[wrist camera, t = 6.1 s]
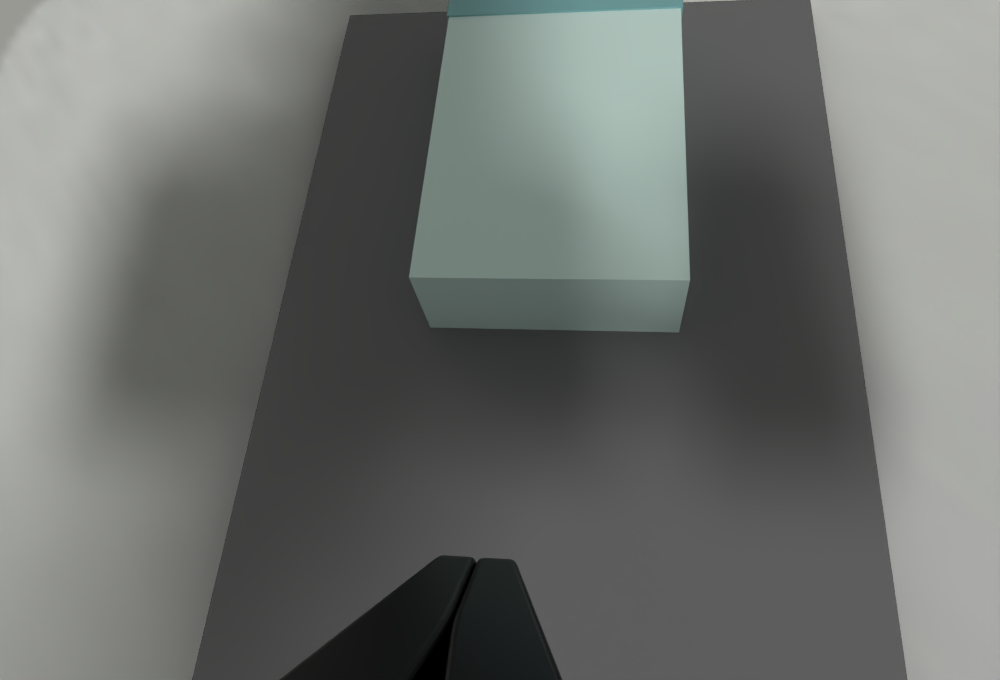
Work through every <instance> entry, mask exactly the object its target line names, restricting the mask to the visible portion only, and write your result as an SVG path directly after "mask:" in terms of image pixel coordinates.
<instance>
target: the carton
mask: <svg viewBox="0 0 1000 680" xmlns="http://www.w3.org/2000/svg"><path fill="white" fill-rule="evenodd" d="M682 12H683V0H449V4H448V11H447V19H448V26H447V33H446V39H445V46H444V52H443V59H442V65H441V72H440V78H439V85H438V91H437V98H436V104H435V111H434V117H433V124H432V130H431V137H430V143H429V150H428V156H427V163H426V169H425V176H424V182H423V189H422V195H421V202H420V208H419V215H418V221H417V228H416V234H415V241H414V247H413V254H412V260H411V267H410V273H409V279H410V281H411V284H412V286H413V288H414V291H415V293H416V295H417V298H418V300H419V302H420V305H421V307H422V309H423V312H424V314H425V316H426V319H427V321H428V323H429V326H430V328H479V329H529V330H580V331H630V332H679V330H680V325H681V321H682V316H683V311H684V307H685V302H686V297H687V293H688V288H689V283H690V263H689V233H688V203H687V174H686V144H685V114H684V84H683V55H682V25H681V20H682Z"/></svg>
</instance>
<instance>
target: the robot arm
mask: <svg viewBox="0 0 1000 680" xmlns="http://www.w3.org/2000/svg"><path fill="white" fill-rule="evenodd" d="M279 680H562V677H561V675H560V672H559V669H558V667H557V664H556V662H555V659H554V657H553V654H552V652H551V649H550V647H549V644H548V642H547V639H546V636H545V634H544V631H543V629H542V626H541V624H540V621H539V619H538V616H537V614H536V611H535V609H534V606H533V603H532V601H531V598H530V596H529V593H528V591H527V588H526V586H525V583H524V581H523V578H522V576H521V573H520V570H519V568H518V565H517V564H516V562H515V561H514V560H511V559H498V558H481V559H479V560H478V561H477V562H476V560H475V559H474V558H473V557H465V556H449V555H441V556H439V557H437V558H435V559H434V560H433V561H431V562H430V563H429V564H427V565H426V566H425V567H424V568H422V569H421V570H420V571H418V572H417V573H416V574H414V575H413V576H412V577H411V578H409V579H408V580H407V581H405V582H404V583H403V584H402V585H400V586H399V587H398V588H396V589H395V590H394V591H393V592H391V593H390V594H389V595H387V596H386V597H385V598H384V599H382V600H381V601H380V602H378V603H377V604H376V605H374V606H373V607H372V608H371V609H369V610H368V611H367V612H365V613H364V614H363V615H362V616H360V617H359V618H358V619H356V620H355V621H354V622H353V623H351V624H350V625H349V626H347V627H346V628H345V629H344V630H342V631H341V632H340V633H338V634H337V635H336V636H334V637H333V638H332V639H331V640H329V641H328V642H327V643H325V644H324V645H323V646H322V647H320V648H319V649H318V650H316V651H315V652H314V653H313V654H311V655H310V656H309V657H307V658H306V659H305V660H304V661H302V662H301V663H300V664H298V665H297V666H296V667H294V668H293V669H292V670H291V671H289V672H288V673H287V674H285V675H284V676H283V677H282V678H280V679H279Z"/></svg>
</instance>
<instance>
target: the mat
mask: <svg viewBox="0 0 1000 680" xmlns="http://www.w3.org/2000/svg"><path fill="white" fill-rule="evenodd" d="M681 25H682V55H683V84H684V114H685V144H686V174H687V203H688V233H689V263H690V283H689V288H688V293H687V297H686V302H685V307H684V311H683V316H682V321H681V325H680V330H679V332H630V331H580V330H529V329H479V328H430V326H429V323H428V321H427V319H426V316H425V314H424V312H423V309H422V307H421V305H420V302H419V300H418V298H417V295H416V293H415V291H414V288H413V286H412V284H411V281H410V279H409V273H410V267H411V260H412V254H413V247H414V241H415V234H416V228H417V221H418V215H419V208H420V202H421V195H422V189H423V182H424V176H425V169H426V163H427V156H428V150H429V143H430V137H431V130H432V124H433V117H434V111H435V104H436V98H437V91H438V85H439V78H440V72H441V65H442V59H443V52H444V46H445V39H446V33H447V26H448V19H447V12H428V13H403V14H377V15H351V16H350V19H349V23H348V27H347V31H346V35H345V40H344V44H343V48H342V52H341V56H340V61H339V65H338V69H337V73H336V77H335V82H334V86H333V90H332V94H331V98H330V103H329V107H328V111H327V115H326V119H325V124H324V128H323V132H322V136H321V140H320V145H319V149H318V153H317V157H316V161H315V166H314V170H313V174H312V178H311V182H310V187H309V191H308V195H307V199H306V203H305V208H304V212H303V216H302V220H301V225H300V229H299V233H298V237H297V241H296V246H295V250H294V254H293V258H292V262H291V267H290V271H289V275H288V279H287V283H286V288H285V292H284V296H283V300H282V304H281V309H280V313H279V317H278V321H277V325H276V330H275V334H274V338H273V342H272V346H271V351H270V355H269V359H268V363H267V367H266V372H265V376H264V380H263V384H262V388H261V393H260V397H259V401H258V405H257V409H256V414H255V418H254V422H253V426H252V430H251V435H250V439H249V443H248V447H247V451H246V456H245V460H244V464H243V468H242V472H241V477H240V481H239V485H238V489H237V493H236V498H235V502H234V506H233V510H232V514H231V519H230V523H229V527H228V531H227V535H226V540H225V544H224V548H223V552H222V557H221V561H220V565H219V569H218V573H217V578H216V582H215V586H214V590H213V594H212V599H211V603H210V607H209V611H208V615H207V620H206V624H205V628H204V632H203V636H202V641H201V645H200V649H199V653H198V657H197V662H196V666H195V670H194V674H193V678H192V680H279V679H280V678H282V677H283V676H284V675H285V674H287V673H288V672H289V671H291V670H292V669H293V668H294V667H296V666H297V665H298V664H300V663H301V662H302V661H304V660H305V659H306V658H307V657H309V656H310V655H311V654H313V653H314V652H315V651H316V650H318V649H319V648H320V647H322V646H323V645H324V644H325V643H327V642H328V641H329V640H331V639H332V638H333V637H334V636H336V635H337V634H338V633H340V632H341V631H342V630H344V629H345V628H346V627H347V626H349V625H350V624H351V623H353V622H354V621H355V620H356V619H358V618H359V617H360V616H362V615H363V614H364V613H365V612H367V611H368V610H369V609H371V608H372V607H373V606H374V605H376V604H377V603H378V602H380V601H381V600H382V599H384V598H385V597H386V596H387V595H389V594H390V593H391V592H393V591H394V590H395V589H396V588H398V587H399V586H400V585H402V584H403V583H404V582H405V581H407V580H408V579H409V578H411V577H412V576H413V575H414V574H416V573H417V572H418V571H420V570H421V569H422V568H424V567H425V566H426V565H427V564H429V563H430V562H431V561H433V560H434V559H435V558H437V557H439V556H441V555H449V556H465V557H473V558H474V559H475V560H476V562H477V561H478V560H479V559H481V558H498V559H511V560H514V561H515V562H516V564H517V565H518V568H519V570H520V573H521V576H522V578H523V581H524V583H525V586H526V588H527V591H528V593H529V596H530V598H531V601H532V603H533V606H534V609H535V611H536V614H537V616H538V619H539V621H540V624H541V626H542V629H543V631H544V634H545V636H546V639H547V642H548V644H549V647H550V649H551V652H552V654H553V657H554V659H555V662H556V664H557V667H558V669H559V672H560V675H561V677H562V680H907V674H906V667H905V660H904V653H903V646H902V639H901V632H900V625H899V618H898V611H897V604H896V597H895V590H894V583H893V576H892V569H891V562H890V555H889V548H888V541H887V534H886V527H885V520H884V513H883V506H882V499H881V492H880V485H879V478H878V471H877V464H876V457H875V450H874V443H873V436H872V429H871V422H870V415H869V408H868V401H867V394H866V387H865V380H864V373H863V366H862V359H861V352H860V345H859V338H858V331H857V324H856V317H855V310H854V303H853V296H852V289H851V282H850V275H849V268H848V261H847V254H846V247H845V240H844V233H843V226H842V219H841V212H840V205H839V198H838V191H837V184H836V177H835V170H834V163H833V156H832V149H831V142H830V135H829V128H828V121H827V114H826V107H825V100H824V93H823V86H822V79H821V72H820V65H819V58H818V51H817V44H816V37H815V30H814V23H813V16H812V9H811V2H810V0H737V1H712V2H686V3H683V12H682V20H681Z"/></svg>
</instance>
